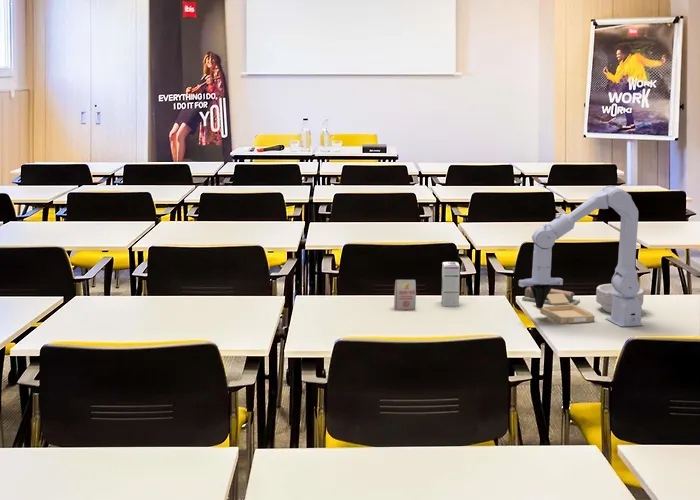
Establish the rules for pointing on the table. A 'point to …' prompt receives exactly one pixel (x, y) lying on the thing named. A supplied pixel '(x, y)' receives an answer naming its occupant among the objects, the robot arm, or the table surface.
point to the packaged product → (568, 295)
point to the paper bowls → (611, 296)
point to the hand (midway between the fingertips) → (539, 307)
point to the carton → (569, 314)
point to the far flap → (557, 298)
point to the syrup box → (450, 283)
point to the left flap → (546, 311)
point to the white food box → (405, 295)
